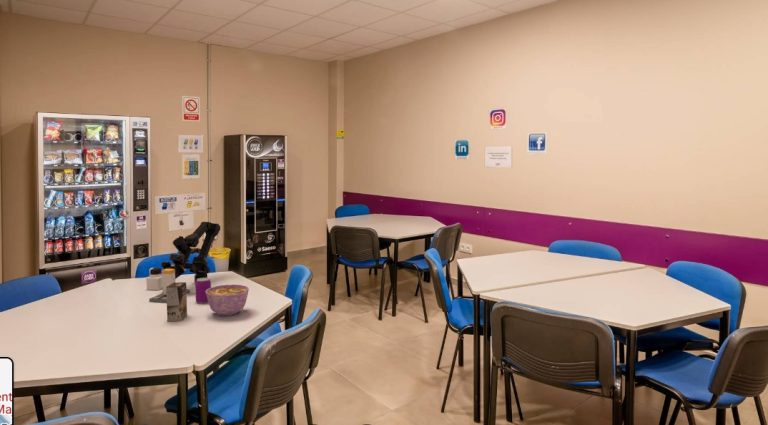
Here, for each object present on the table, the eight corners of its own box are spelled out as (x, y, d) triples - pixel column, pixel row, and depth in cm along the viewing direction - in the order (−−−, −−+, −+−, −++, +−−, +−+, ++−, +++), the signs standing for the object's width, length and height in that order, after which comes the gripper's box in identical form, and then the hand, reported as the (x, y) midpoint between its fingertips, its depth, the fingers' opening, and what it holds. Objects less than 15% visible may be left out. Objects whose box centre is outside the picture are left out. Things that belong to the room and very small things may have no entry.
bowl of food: (215, 306, 246) (214, 283, 245) (254, 307, 245) (254, 284, 244) (199, 319, 226) (198, 295, 225) (241, 320, 225) (241, 296, 224)
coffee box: (181, 321, 223) (180, 287, 221) (166, 321, 222) (165, 287, 221) (187, 314, 232) (186, 282, 230) (173, 315, 232) (172, 282, 230)
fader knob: (167, 292, 262) (166, 268, 261) (175, 292, 261) (174, 269, 260) (162, 294, 258) (161, 270, 257) (171, 294, 258) (170, 270, 256)
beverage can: (214, 300, 255) (214, 278, 254) (203, 304, 248) (203, 281, 247) (203, 298, 258) (203, 276, 257) (192, 302, 251) (191, 279, 250)
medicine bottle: (165, 287, 280) (164, 266, 279) (158, 290, 273) (157, 269, 272) (153, 286, 281) (152, 266, 279) (146, 290, 274) (145, 269, 272)
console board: (173, 291, 272) (173, 288, 272) (190, 292, 271) (189, 289, 270) (149, 301, 252) (149, 298, 252) (166, 303, 250) (166, 299, 250)
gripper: (162, 247, 268) (149, 271, 258) (193, 248, 264) (181, 273, 255) (171, 258, 276) (159, 282, 266) (201, 260, 273) (190, 284, 263)
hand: (172, 280), depth 262 cm, fingers closed
